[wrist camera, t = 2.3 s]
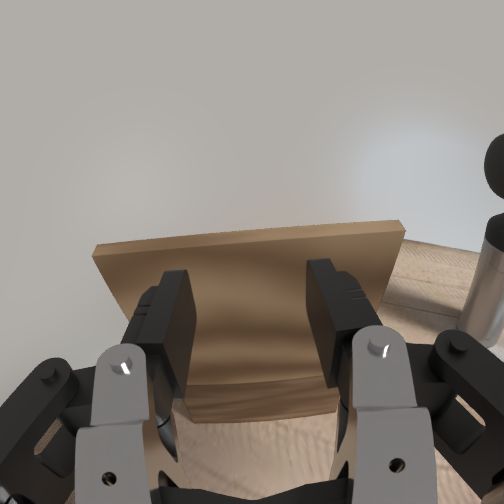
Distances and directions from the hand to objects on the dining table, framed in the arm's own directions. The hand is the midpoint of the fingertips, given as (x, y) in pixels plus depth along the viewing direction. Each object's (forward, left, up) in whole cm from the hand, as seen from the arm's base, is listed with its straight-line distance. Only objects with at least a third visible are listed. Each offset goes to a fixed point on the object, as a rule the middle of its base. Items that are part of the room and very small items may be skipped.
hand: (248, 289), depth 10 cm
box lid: (-6, -6, -9) cm, 13 cm away
